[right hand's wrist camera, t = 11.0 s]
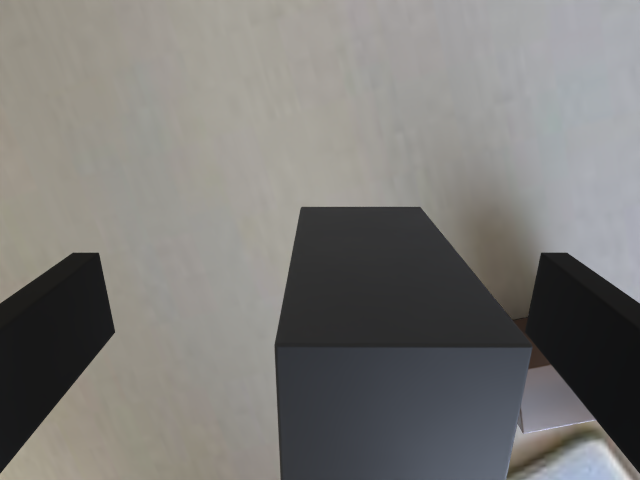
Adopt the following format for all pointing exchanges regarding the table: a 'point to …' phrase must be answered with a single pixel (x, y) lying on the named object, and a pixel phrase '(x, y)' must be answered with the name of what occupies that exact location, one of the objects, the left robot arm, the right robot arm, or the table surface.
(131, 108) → the table surface
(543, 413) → the metal cube
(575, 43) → the table surface
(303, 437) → the bar
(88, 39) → the table surface
